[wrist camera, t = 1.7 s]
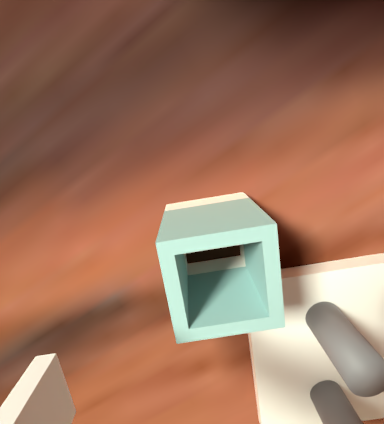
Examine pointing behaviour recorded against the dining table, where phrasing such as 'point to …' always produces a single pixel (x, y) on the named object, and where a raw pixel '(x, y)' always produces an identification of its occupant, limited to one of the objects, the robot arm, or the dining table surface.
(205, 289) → the sleeve
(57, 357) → the robot arm
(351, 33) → the dining table surface
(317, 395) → the pinboard
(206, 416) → the dining table surface
